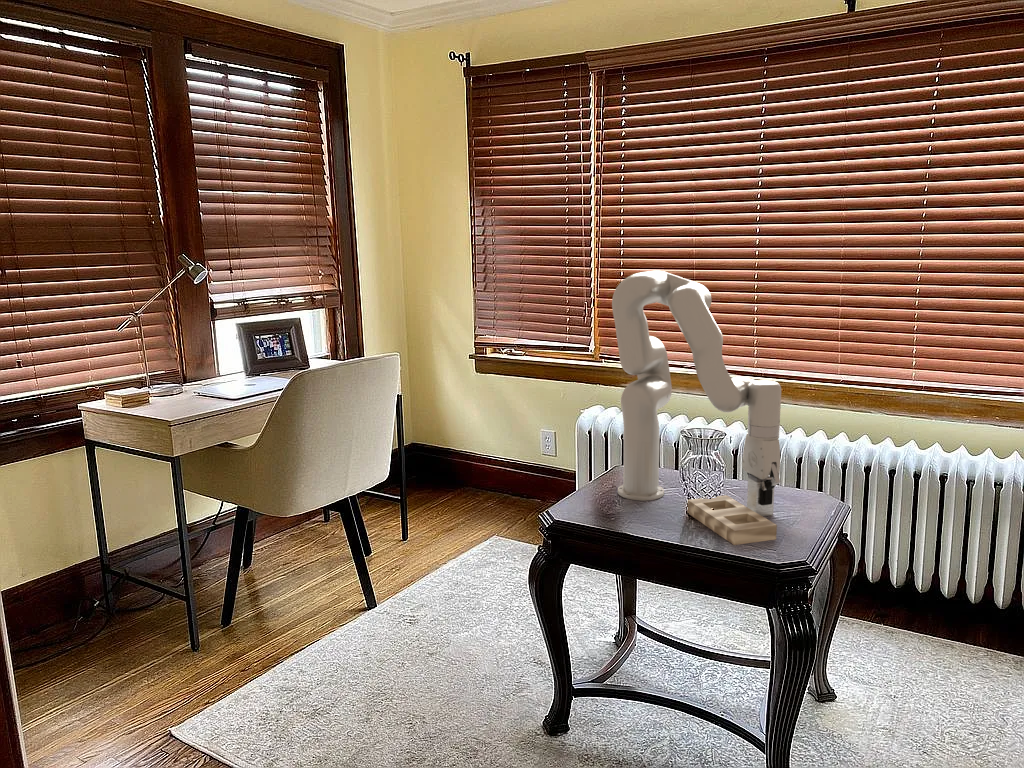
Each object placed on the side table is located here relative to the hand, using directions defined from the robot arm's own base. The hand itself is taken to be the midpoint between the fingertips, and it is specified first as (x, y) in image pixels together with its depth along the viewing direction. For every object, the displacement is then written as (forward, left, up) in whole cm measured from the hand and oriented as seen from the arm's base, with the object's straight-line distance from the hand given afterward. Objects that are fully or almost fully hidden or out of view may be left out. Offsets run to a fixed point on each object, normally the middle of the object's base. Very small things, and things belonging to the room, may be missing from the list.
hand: (760, 500), depth 201 cm
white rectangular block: (0, 0, -3) cm, 3 cm away
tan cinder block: (+5, -12, -3) cm, 13 cm away
